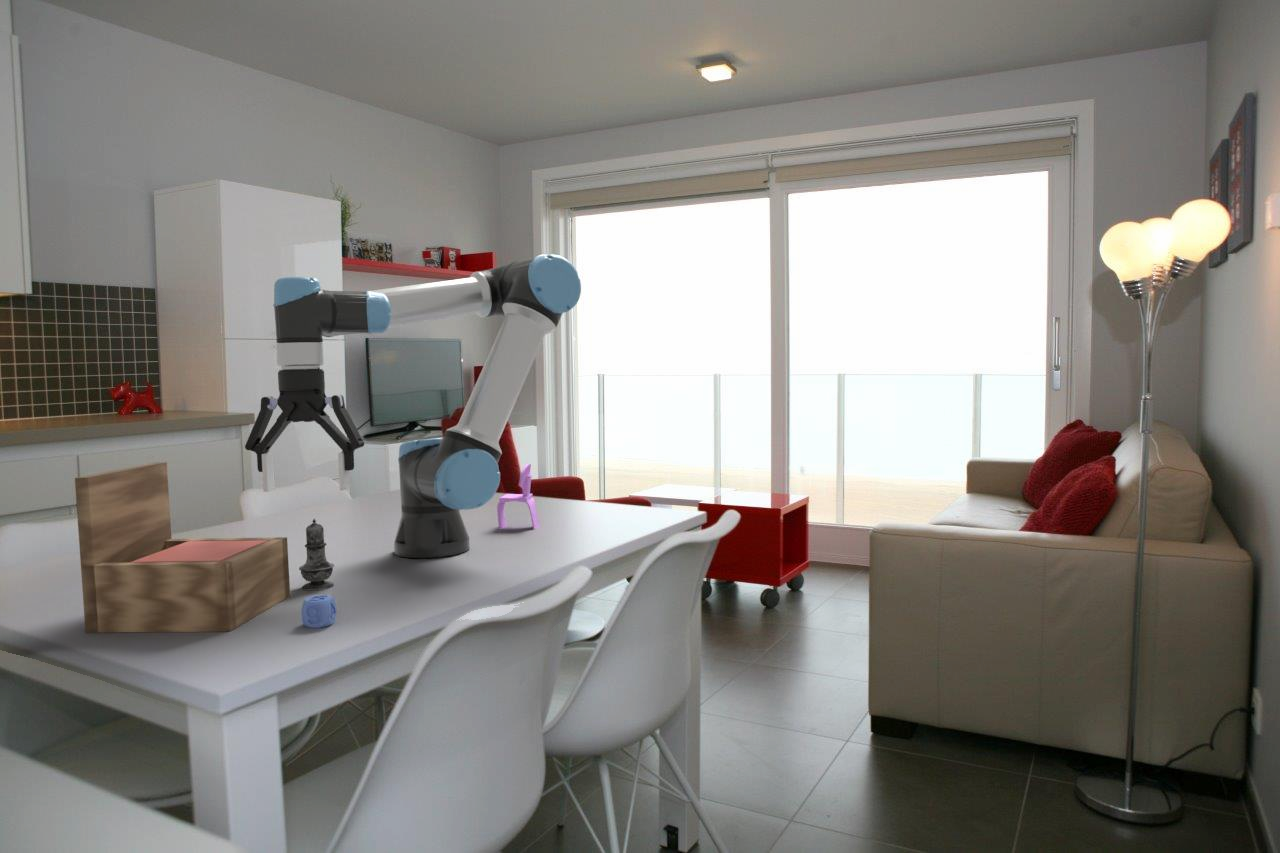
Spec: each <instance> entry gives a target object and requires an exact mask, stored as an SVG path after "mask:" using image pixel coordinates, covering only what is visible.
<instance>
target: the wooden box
mask: <svg viewBox="0 0 1280 853" xmlns="http://www.w3.org/2000/svg"><path fill="white" fill-rule="evenodd" d="M168 476H169V474H168V462H167V461H166V462H164V461H163V462H151V463H146V464H141V465H140V464H139V465H135V466H130V467H124V468H119V469H115V470H114V469H113V470H109V471H104V472H99V473H93V474H89V475H84V476H77V477H74V486H75V488H74V489H75V499H76V500H75V501H76V502H75V503H76V516H77V527H78V528H77V530H78V543H79V556H80V558H79V560H80V572H81V585H82V586H81V588H82V599H83V603H82V604H83V614H84V629H85V630H84V631H85V633H173V632H174V633H175V632H177V633H180V632H181V633H183V632H184V633H186V632H187V633H189V632H190V633H191V632H193V633H194V632H197V633H198V632H204V633H206V632H210V633H212V632H219V633H220V632H232V631H234V630H235V629H237V628H239V627H240V626H241V625H244V624H245V623H247V622H249V621H250V620H253V619H254V618H255V617H257V616H259V615H260V614H262V613H264V612H266V611H267V610H269V609H270V608H271V609H272V607H275V606H276V605H278V604H280V603H281V602H283V601H285V600H286V599H288V598H289V597H291V584H290V583H291V582H290V568H289V567H290V566H289V549H288V545H289V544H288V536H287V537H282V536H281V537H280V536H279V537H225V538H224V537H221V538H220V537H215V538H211V537H209V538H208V537H207V538H206V537H205V538H204V537H203V538H172V524H171V508H170V507H171V506H170V495H169V494H170V492H169V477H168ZM247 540H268V541H267V542H265V543H263V544H260V545H258V546H255V547H253V548H251V549H248V550H246V551H244V552H241V553H239V554H237V555H234V556H232V557H230V558H227V559H225V560H223V561H216V562H133V563H131V562H132V561H135V560H138V559H140V558H143V557H146V556H149V555H151V554H154V553H157V552H160V551H163V550H165V549H168V548H171V547H174V546H176V545H179V544H182V543H185V542H188V541H247Z"/></svg>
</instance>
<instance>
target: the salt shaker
mask: <svg viewBox="0 0 1280 853" xmlns="http://www.w3.org/2000/svg"><path fill="white" fill-rule="evenodd" d="M324 531H325V530H324V526H322V524H319V523H317V520H316V519H315V518H313V520H312V523H311V524H308V526H306V529H305V534H306V535H305V537H306V544H304V548H306V561H305V563H304V564H303V565H300V566H299V567H298V570H299V571H300V574H301V577H302V578H303V579H304V580H305V581H306V582H307V583H304V585H302V586H301V590H305V591H319V590H327V589H330V588H333V587H334V585H335V584H334V583H333V582H331V581H328V579H329V578H330V577H331V575H332V573H333V570H334V567H335V563H332V562H329V561H328V560H327V557H326V548H325V547H326V545H327V543H326V542H325V534H324Z"/></svg>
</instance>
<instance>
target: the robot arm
mask: <svg viewBox="0 0 1280 853" xmlns="http://www.w3.org/2000/svg"><path fill="white" fill-rule="evenodd" d="M320 283H321V282H320V280H319V279H317V278H316V277H308V276H307V277H305V276H286V277H280V278H278V279H277V280H276V281H275V282H274V286H273V288H274V289H273V307H274V308H273V309H274V321H275V324H274V325H275V335H276V363H277V364H276V365H277V366H278V367H280V368H281V369H279V370H278V371H277V379H278V380H277V381H278V392H279V395H278V397H273V396H263V397H261V399H260V409H259V413H258V415H257V417H256V419H255V422H254V424H253V426H252V429H251V431H250V433H249V436H248V438H247V440H246V442H245V446H244V448H245V450H247V451H250V452H254V453H255V455H256V463H257V464H256V465H257V470H258V472H259V473H262V487H263V490H262V491H263V493H264V492H265V493H266V492H267V493H268V492H271V491H275V490H276V484H275V483H276V482H275V465H274V464H275V462H274V453H273V452H270V450H271V448H272V446H274V444H275V442H276V441H277V440H278V438H280V436H281V435H282V434H283V432H284V431H285V429H287V427H288V426H289V425H290V424H291V423H299V422H300V423H301V422H305V423H312V422H315V423H316V424H318V425H319V427H321V428H322V429H323V430H324V431H325V433H326V434H327V435H328V436H329V437H330V438H331V439H332V440H333V442H335V444H336V445H337V446H338V447H339V448H340V449H341V450H342V451H341V452H338V453H337V457H338V458H337V459H338V460H337V461H338V479H339V480H338V481H339V491H342V492H343V491H344V492H345V491H348V490H349V489H351V478H350V477H351V476H350V471H353V470H354V469H355V454H354V453H355V451H356V450H357V449H360V448H363V447H364V446H365V442H364V440H363V438H362V436H361V434H360V432H359V430H358V429H357V427H356V424H355V423H354V421H353V420H352V418H351V416H350V414H349V412H348V410H347V408H346V405H345V399H344V395H342V394H334V395H332V396H328V397H327V395H326V393H325V392H326V385H325V383H326V382H325V370H324V369H323V368H321V366H323V365H324V364H325V362H324V349H323V348H324V347H323V346H324V345H323V342H324V341H323V340H324V339H323V337H325V338H333V337H338V336H347V335H355V334H368V335H372V334H383V333H385V332H386V331H387V330H388V329H389V328H392V327H398V326H399V327H400V326H405V325H411V324H418V323H419V324H420V323H424V322H430V321H438V320H444V319H450V318H458V317H463V316H464V317H465V316H470V315H477V317H479V318H489V317H498V316H499V317H500V316H501V317H503V316H505V318H504V319H503V322H502V325H501V326H500V328H499V330H498V333H497V335H496V337H495V339H494V341H493V345H492V347H491V349H490V351H489V353H488V356H487V358H486V361H485V363H484V365H483V367H482V369H481V372H480V373H479V376H478V378H477V380H476V382H475V385H474V386H473V389H472V391H471V394H470V395H469V396H470V397H469V398H468V401H467V403H466V405H465V407H464V410H463V412H462V414H461V416H460V419H459V421H458V423H457V424H456V425H454V426H452V427H450V428H446V430H445V432H444V434H443V437H436V438H425V439H424V438H423V439H416V440H409V441H404V442H403V443H401V444H400V445H399V447H398V448H399V450H398V459H397V461H398V468H399V469H398V471H399V486H400V504H401V505H400V506H401V507H400V508H401V517H400V521H399V524H398V528H397V531H396V535H395V539H394V542H393V547H394V548H393V551H394V555H396V556H398V557H403V558H407V559H409V558H410V559H414V558H415V559H428V558H430V559H431V558H441V557H448V556H454V555H458V554H462V553H464V552H467V551H469V549H470V536H469V533H468V531H467V529H466V526H465V523H464V520H463V517H462V514H461V511H462V510H466V511H467V510H468V511H470V510H475V509H478V508H480V507H482V506H484V505H485V504H487V503H488V502H490V500H491V499H493V497H494V496H495V494H496V492H497V491H498V489H499V486H500V483H501V482H500V481H501V472H500V469H499V462H500V459H501V456H502V455H503V452H502V449H501V447H500V443H499V442H500V439H501V438H502V435H503V432H504V430H505V427H506V425H507V423H508V421H509V419H510V417H511V416H510V415H511V414H512V411H513V409H514V407H515V404H516V402H517V400H518V397H519V395H520V393H521V391H522V388H523V386H524V384H525V382H526V379H527V377H528V374H529V372H530V370H531V367H532V365H533V364H534V361H535V359H536V357H537V354H538V352H539V350H540V347H541V345H542V342H543V340H544V338H545V336H546V335H548V334H551V333H554V332H555V331H556V329H557V327H558V325H559V322H560V321H561V318H562V315H563V314H564V313H568V312H569V311H570V310H572V309H573V308H574V307H575V306H576V305H577V304H578V302H579V300H580V297H581V293H582V284H581V279H580V278H579V274H578V271H577V269H576V268H575V266H574V265H573V264H572V263H571V261H569V260H568V259H567V258H566V257H563V256H562V255H560V254H559V255H558V254H546V253H544V254H540V255H537V256H535V257H530V258H526V259H520V260H519V259H518V260H515V261H511V262H509V263H505V264H503V265H499V266H497V267H496V266H495V267H493V268H489V269H484V270H479V271H477V270H476V271H474V272H472V273H471V274H470V276H469V277H464V278H455V279H450V280H441V281H434V282H428V283H427V282H425V283H419V284H410V285H402V286H396V287H389V288H382V289H376V290H374V289H373V290H363V291H360V290H354V291H353V290H328V289H327V290H325V289H322V287H321V284H320ZM277 406H278V407H279V408H280V410H281V411H282V412H281V413H280V415H278V417H277V419H276V421H275V423H273V425H272V426H271V427H270V429H269V430H268V432H267V433H266V434H265V432H266V429H267V428H268V425H269V423H270V420H271V418H272V416H273V414H274V410H275V409H276V408H277ZM327 406H329V408H330V409H333V413H334V414H335V416H336V418H337V420H338V422H339V424H340V426H341V428H342V429H343V431H344V433H345V434H344V433H343V432H342V431H341V430H340V429H339V427H338V426H337V425H336V424H335V422H333V420H332V419H331V417H330V416H329V414H327V412H326V411H325V408H326V407H327ZM264 434H265V436H264Z"/></svg>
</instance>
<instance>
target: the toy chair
mask: <svg viewBox="0 0 1280 853" xmlns="http://www.w3.org/2000/svg"><path fill="white" fill-rule="evenodd" d="M531 467H532V463H531V462H528V463H526V464H525V465H524V466H523V467H522V469H521V471H520V473H519V474H520V476H519V482H518V486H519V487H520V488H521V489H522V493H520V494H519V493H517V494H516V493H505V494H504V495H503V496H500V497H499V498H498V503H497V507H496V509H497V510H496V512H497V522H498V530H500V531H501V530H503V529H504V528H505V527H507V526H508V523H507V520H506V517H505V511H504V510H505V504H506V503H510V502H521V503H525V504H527V507H528V510H529V513H530V518H531V522H532V523H531V524H532V529H533V530H534V531H535V530H536V529H537V528H538V527H539V526H541V522H540V520H539V518H538V514H537V510H536V501H535V499H534V497H533V493H531V483H532V474H531Z"/></svg>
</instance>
